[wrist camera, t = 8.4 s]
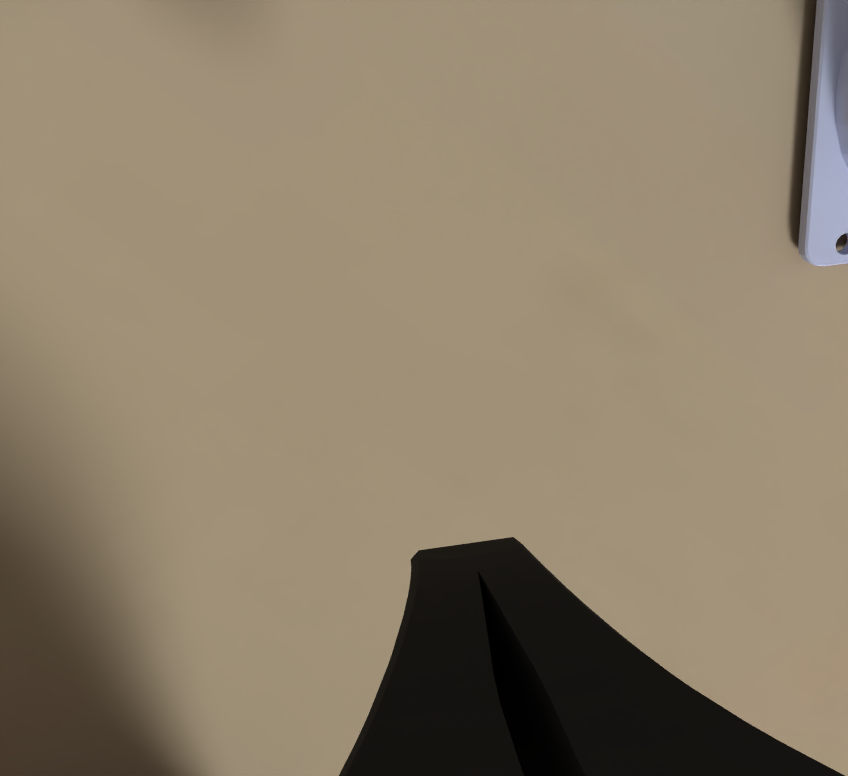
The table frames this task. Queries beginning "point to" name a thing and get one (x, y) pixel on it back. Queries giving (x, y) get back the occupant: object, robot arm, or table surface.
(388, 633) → the table surface
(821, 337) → the table surface
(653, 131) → the table surface
